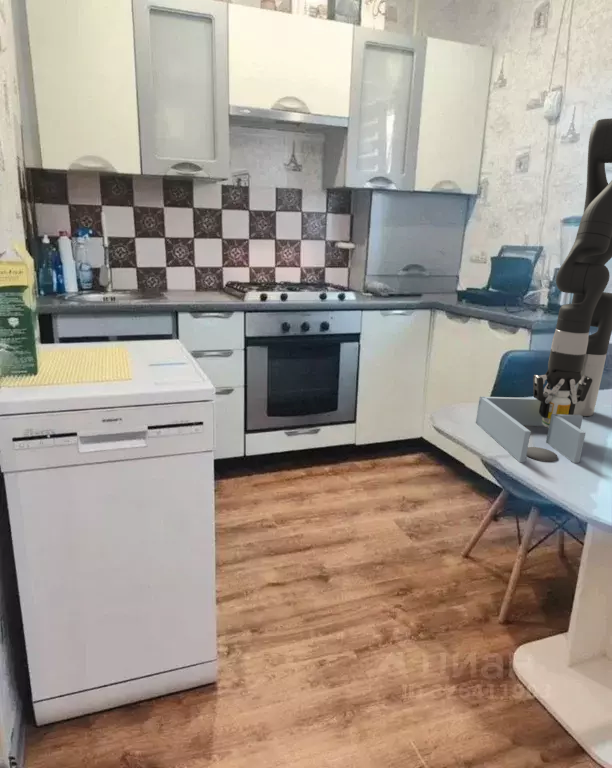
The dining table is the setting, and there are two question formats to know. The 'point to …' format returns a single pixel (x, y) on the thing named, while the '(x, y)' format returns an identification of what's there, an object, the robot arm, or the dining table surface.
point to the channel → (512, 413)
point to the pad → (541, 454)
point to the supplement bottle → (558, 406)
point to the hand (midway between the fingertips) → (555, 416)
